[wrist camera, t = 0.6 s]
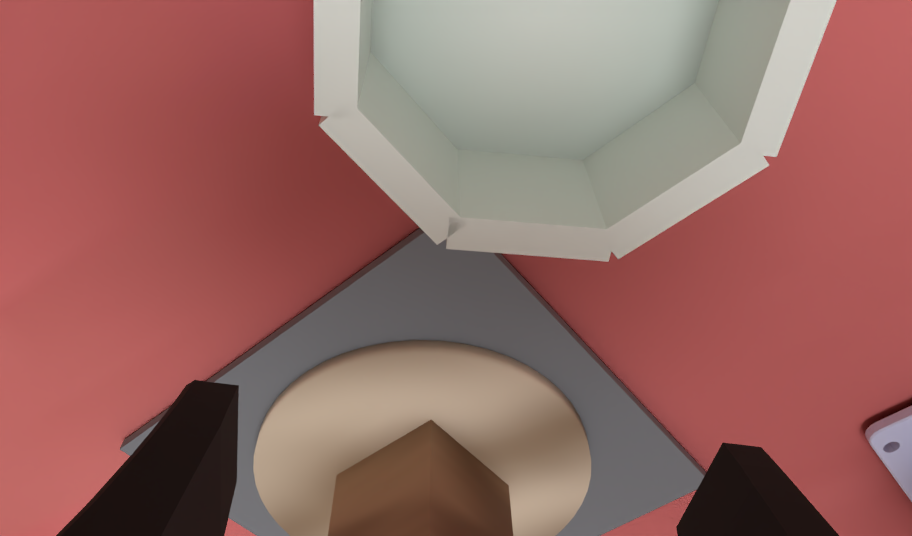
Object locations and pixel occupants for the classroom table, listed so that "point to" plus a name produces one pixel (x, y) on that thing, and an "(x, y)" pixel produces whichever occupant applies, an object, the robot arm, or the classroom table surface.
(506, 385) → the lid
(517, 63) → the bowl
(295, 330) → the mat
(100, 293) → the classroom table surface
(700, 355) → the classroom table surface
